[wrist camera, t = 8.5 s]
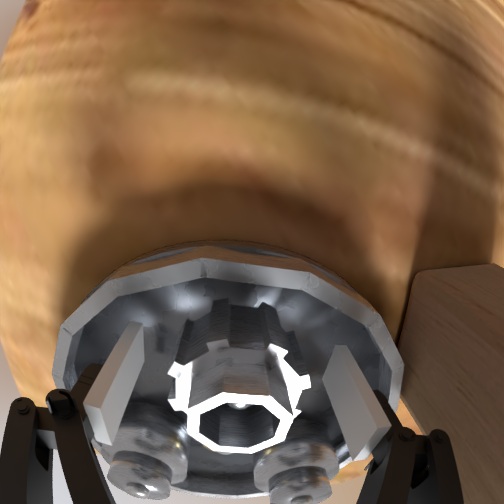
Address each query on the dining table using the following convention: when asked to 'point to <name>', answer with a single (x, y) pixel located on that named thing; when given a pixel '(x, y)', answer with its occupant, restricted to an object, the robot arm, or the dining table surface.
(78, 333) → the carrier
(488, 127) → the dining table surface
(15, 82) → the dining table surface
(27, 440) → the robot arm
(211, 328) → the gear
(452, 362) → the wooden block
